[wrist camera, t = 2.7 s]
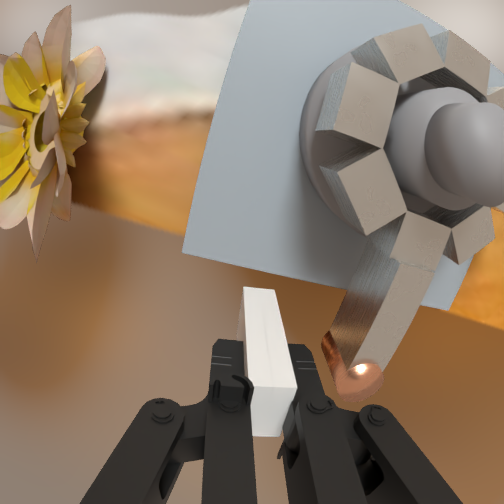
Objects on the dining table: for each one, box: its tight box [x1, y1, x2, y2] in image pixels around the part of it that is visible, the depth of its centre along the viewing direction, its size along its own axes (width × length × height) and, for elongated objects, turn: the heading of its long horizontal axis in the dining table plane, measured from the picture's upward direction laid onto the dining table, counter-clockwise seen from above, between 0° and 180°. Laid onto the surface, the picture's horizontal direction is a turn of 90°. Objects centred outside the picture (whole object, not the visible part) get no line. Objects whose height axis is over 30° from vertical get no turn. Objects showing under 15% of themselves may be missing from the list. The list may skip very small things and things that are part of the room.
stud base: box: [182, 0, 504, 310], centre depth 14 cm, size 22×23×11 cm
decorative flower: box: [0, 5, 106, 262], centre depth 13 cm, size 15×11×10 cm
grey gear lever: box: [315, 23, 504, 402], centre depth 14 cm, size 21×12×4 cm, turn 165°
